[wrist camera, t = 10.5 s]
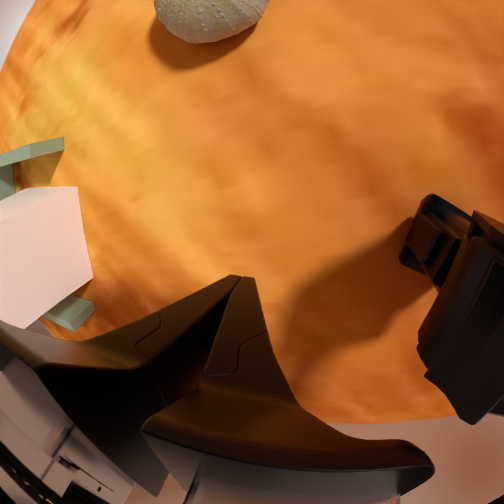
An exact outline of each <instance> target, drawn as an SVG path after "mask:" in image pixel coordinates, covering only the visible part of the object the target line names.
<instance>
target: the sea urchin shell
mask: <svg viewBox="0 0 504 504" xmlns="http://www.w3.org/2000/svg"><path fill="white" fill-rule="evenodd" d="M268 3H269V2H268V0H154V7H155V10H156V13H157V17H158V20H159V21H160V22H161V23H162V24H163V25H164V26H165V27H166V28H167V30H168V31H169V32H170V33H172V34H173V35H175V36H177V37H179V38H180V39H182V40H184V41H186V42H190V43H195V44H198V43H206V42H217V41H219V40H222V39H224V38H228V37H231V36H233V35H238V34H239V33H240V32H241V31H243V30H245V29H247V28H249V27H251V26H252V25H254V24H255V23H256V22H257V21H258V20H259V19H260V18H262V15H263V13H264V10H265V8H266V6H267V4H268Z"/></svg>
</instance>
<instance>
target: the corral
mask: <svg viewBox="0 0 504 504" xmlns="http://www.w3.org/2000/svg"><path fill="white" fill-rule="evenodd" d="M61 150H64V137H61V138H56V139H51V140H46V141H41V142H36V143H32V144H28V145H25V146H22V147H20V148H17V149H14V150H11V151H9V152H6V153H4V154H1V155H0V201H1V200H3V199H5V198H7V197H9V196H11V195H13V194H15V193H16V192H15V185H14V177H13V167H12V163H15V162H19V161H23V160H26V159H30V158H34V157H37V156H41V155H45V154H49V153H53V152H57V151H61ZM95 311H96V310H95V307H94V304H93V302H91V301H88V300H85V299H82V298H79V297H76V296H73V295H71V294H70V295H68V296H67V297H66V298H64V299H63V300H61V301H60V302H59V303H57V304H56V305H55V306H53V307H52V308H51V309H49V310H48V311H47V312H45V313H44V314H43V315H42V317H44V318H46V319H48V320H50V321H52V322H54V323H56V324H58V325H60V326H62V327H64V328H66V329H68V330H71V331H73V332H75V331H76V330H77V329H78V328H79V327H80V326H81V325H82V324H83V323H84V322H85V321H86V320H87V319H88V318H89V317H90V316H91V315H92V314H93V313H94V312H95Z"/></svg>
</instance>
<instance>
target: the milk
mask: <svg viewBox="0 0 504 504" xmlns="http://www.w3.org/2000/svg"><path fill="white" fill-rule="evenodd" d="M92 278H94V277H93V273H92V269H91V265H90V260H89V256H88V251H87V246H86V241H85V236H84V230H83V225H82V218H81V212H80V205H79V197H78V188H77V187H39V188H26V189H24V190H22V191H20V192H18V193H15V194H13V195H11V196H9V197H7V198H5V199H3V200H1V201H0V320H2V321H3V322H5V323H8V324H10V325H13V326H16V327H18V328H22V329H25V328H26V327H27V326H29V325H30V324H31V323H33V322H34V321H35V320H36V319H38V318H39V317H40V316H42V315H43V314H44V313H45V312H47V311H48V310H49V309H51V308H52V307H53V306H55V305H56V304H57V303H59V302H60V301H61V300H63V299H64V298H66V297H67V296H68V295H70V294H71V293H72V292H74V291H75V290H77V289H78V288H79V287H81V286H82V285H84V284H85V283H87V282H88V281H89V280H91V279H92Z"/></svg>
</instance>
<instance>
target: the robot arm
mask: <svg viewBox="0 0 504 504" xmlns="http://www.w3.org/2000/svg"><path fill="white" fill-rule="evenodd" d="M433 198H435V201H434V202H433V203H432V199H433ZM404 257H407V258H406V260H403V258H404ZM399 261H400V263H401V264H402V265H405V266H407V267H409V268H411V269H414V270H416V271H418V272H420V273H422V274H425V275H427V276H428V277H429V279H430V280H431V282H432V284H433V285H434V287H435V288H436V290H437V292H438V295H437V297H436V299H435V301H434V303H433V305H432V307H431V309H430V310H429V312H428V314H427V316H426V318H425V319H424V321H423V323H422V325H421V327H420V329H419V331H418V342H419V344H418V345H417V347H416V348H417V351H418V354H419V356H420V359H421V360H422V362H423V364H424V365H425V367H426V368H427V372H426V373H425V374H424V377H425V378H426V379H428V380H429V381H430V382H432V383H433V384H435V385H436V386H437V387H438V388H439V389H440V390H441V391H442V392H443V393H444V394H445V395H446V397H447V398H448V400H449V401H450V403H451V404H452V406H453V408H454V409H455V411H456V413H457V415H458V416H459V418H460V419H461V420H463V421H465V422H467V423H468V424H471V425H475V424H476V423H477V422H479V421H480V420H481V419H482V418H483V417H484V416H485V415H486V414H487V413H488V414H493V415H497V416H502V417H504V224H503V223H501V222H499V221H497V220H495V219H493V218H491V217H489V216H487V215H484V214H482V213H480V212H478V211H476V210H474V211H473V214H472V217H471V216H469V215H468V214H466V213H465V212H463V211H462V210H460V209H459V208H457V207H456V206H454V205H452V204H451V203H449V202H447V201H446V200H444V199H442V198H441V197H439V196H437V195H436V194H433V193H432V194H430V195H429V196H428V198H427V200H426V202H425V205H424V207H423V209H422V211H421V213H420V214H418V216H417V218H416V220H415V222H414V224H413V226H412V228H411V230H410V232H409V234H408V236H407V238H406V244H405V246H404V248H403V250H402V252H401V254H400V256H399ZM169 472H170V473H171V475H172V476H173V477H174V478H175V479H176V481H177V482H178V483H179V484H180V485H181V486H182V488H183V489H184V490H185V491H186V492H187V495H186V498H185V501H184V503H183V504H400V496H402V495H404V494H406V493H407V492H409V491H411V490H413V489H414V488H416V487H418V486H419V485H421V484H423V483H424V482H426V481H427V480H428V479H430V478H431V477H432V476H433V475H434V473H435V467H434V464H433V463H432V461H431V459H430V458H429V457H428V455H427V454H426V453H425V452H424V451H422V450H421V449H420V448H418V447H417V446H415V445H414V444H413V443H411V442H409V441H405V440H400V439H386V440H364V439H358V438H354V437H350V436H347V435H345V434H343V433H341V432H339V431H337V430H335V429H334V428H332V427H331V426H329V425H327V424H326V423H324V422H323V421H321V420H320V419H318V418H316V417H315V416H313V415H312V414H310V413H309V412H307V411H306V410H304V409H303V408H302V407H301V406H300V405H299V403H298V402H297V400H296V399H295V397H294V395H293V393H292V391H291V389H290V387H289V385H288V383H287V381H286V379H285V377H284V374H283V372H282V370H281V368H280V366H279V364H278V362H277V359H276V357H275V354H274V352H273V349H272V346H271V342H270V339H269V335H268V331H267V327H266V323H265V319H264V315H263V311H262V307H261V303H260V298H259V294H258V290H257V286H256V282H255V279H254V278H253V277H246V276H243V277H241V276H238V275H228V276H226V277H224V278H222V279H220V280H218V281H217V282H215V283H213V284H211V285H209V286H207V287H205V288H203V289H201V290H199V291H197V292H195V293H193V294H191V295H189V296H187V297H185V298H183V299H181V300H179V301H177V302H175V303H173V304H170V305H168V306H166V307H164V308H162V309H160V310H159V312H158V311H156V312H154V313H152V314H150V315H148V316H146V317H144V318H142V319H139V320H137V321H135V322H133V323H130V324H128V325H125V326H123V327H120V328H118V329H115V330H112V331H110V332H107V333H104V334H102V335H99V336H96V337H94V338H91V339H88V340H84V341H66V340H62V339H58V338H54V337H50V336H46V335H42V334H39V333H35V332H32V331H28V330H25V329H22V328H18V327H16V326H13V325H10V324H8V323H5V322H3V321H2V320H0V504H51V503H49V502H47V501H46V498H47V499H49V500H50V501H51V502H52V503H53V504H124V503H125V501H126V499H127V497H128V495H129V493H130V491H131V489H132V487H133V488H135V489H137V490H139V491H141V492H144V493H146V494H148V495H151V496H153V497H155V498H156V497H157V496H158V494H159V492H160V490H161V488H162V486H163V484H164V481H165V480H166V478H167V476H168V474H169ZM488 504H504V495H502V496H501V497H499V498H497V499H496V500H494V501H492V502H490V503H488Z"/></svg>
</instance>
